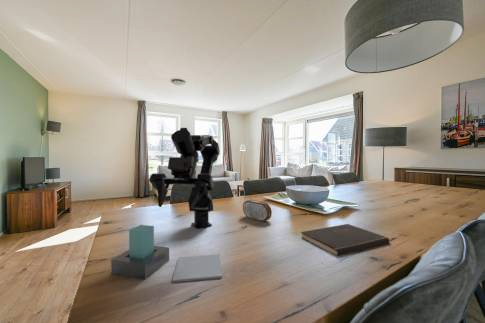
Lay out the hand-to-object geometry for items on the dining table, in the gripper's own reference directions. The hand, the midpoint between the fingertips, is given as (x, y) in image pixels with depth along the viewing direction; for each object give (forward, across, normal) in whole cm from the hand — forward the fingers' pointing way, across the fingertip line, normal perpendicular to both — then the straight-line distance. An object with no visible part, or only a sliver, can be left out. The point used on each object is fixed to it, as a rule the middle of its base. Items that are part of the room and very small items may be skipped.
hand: (175, 206), depth 60 cm
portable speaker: (-14, +22, +37) cm, 45 cm away
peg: (+15, -6, +4) cm, 17 cm away
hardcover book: (+1, +52, +22) cm, 56 cm away
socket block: (+15, -6, +4) cm, 17 cm away
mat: (+14, +8, +5) cm, 17 cm away
